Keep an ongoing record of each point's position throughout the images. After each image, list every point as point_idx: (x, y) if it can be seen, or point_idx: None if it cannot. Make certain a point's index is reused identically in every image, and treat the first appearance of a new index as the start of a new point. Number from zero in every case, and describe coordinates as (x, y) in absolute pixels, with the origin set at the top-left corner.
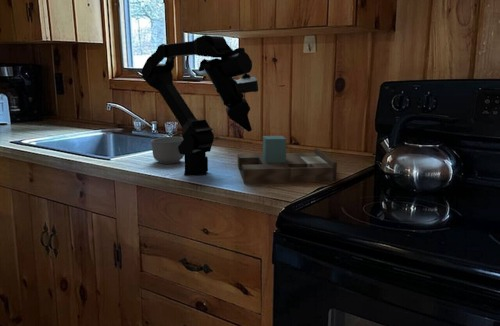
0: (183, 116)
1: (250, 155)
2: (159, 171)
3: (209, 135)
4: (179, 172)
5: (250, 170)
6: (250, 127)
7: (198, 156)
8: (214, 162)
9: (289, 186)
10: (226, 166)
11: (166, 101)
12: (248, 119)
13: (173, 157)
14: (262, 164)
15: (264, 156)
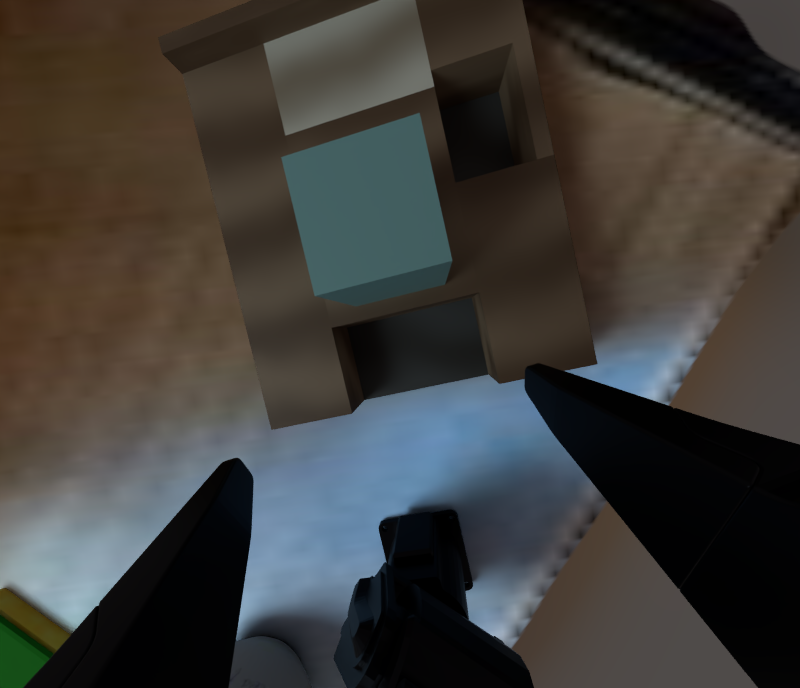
0: None
1: (293, 369)
2: None
3: (447, 657)
4: None
5: (589, 336)
6: (569, 377)
7: (461, 597)
8: None
9: (590, 185)
10: (304, 454)
11: None
12: (707, 420)
13: (300, 678)
14: (482, 294)
15: (410, 289)
